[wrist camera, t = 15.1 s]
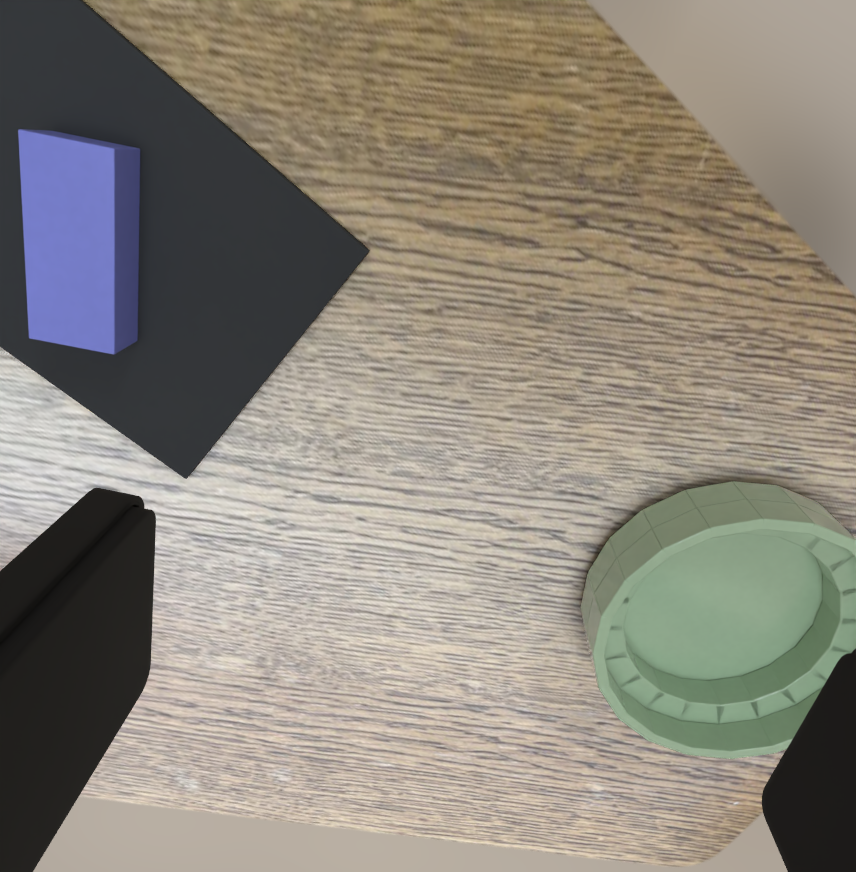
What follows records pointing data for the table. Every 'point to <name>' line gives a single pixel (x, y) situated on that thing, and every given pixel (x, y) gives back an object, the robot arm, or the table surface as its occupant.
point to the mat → (163, 237)
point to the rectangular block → (80, 239)
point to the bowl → (721, 617)
